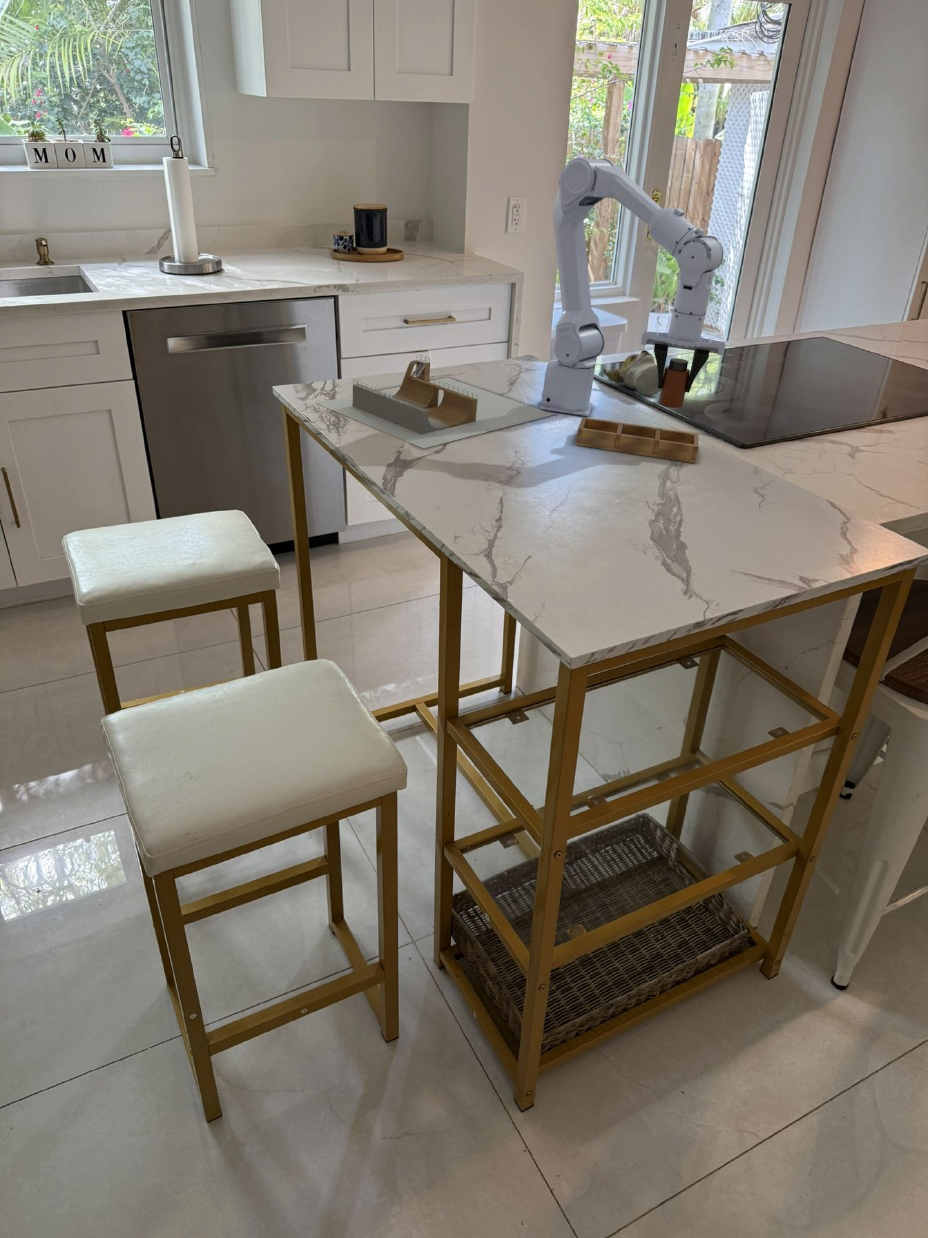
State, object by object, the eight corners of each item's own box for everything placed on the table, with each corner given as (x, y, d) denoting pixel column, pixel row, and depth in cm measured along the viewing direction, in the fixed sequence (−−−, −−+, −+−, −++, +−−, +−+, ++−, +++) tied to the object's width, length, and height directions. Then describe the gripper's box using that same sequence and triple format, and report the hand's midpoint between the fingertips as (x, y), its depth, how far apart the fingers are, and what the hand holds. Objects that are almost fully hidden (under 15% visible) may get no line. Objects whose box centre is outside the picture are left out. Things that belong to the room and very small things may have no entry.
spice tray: (575, 444, 156) (577, 428, 154) (580, 432, 162) (582, 416, 161) (695, 463, 153) (698, 446, 151) (694, 449, 159) (698, 433, 157)
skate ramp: (315, 402, 164) (315, 362, 161) (447, 377, 187) (450, 341, 183) (423, 448, 148) (426, 404, 144) (554, 414, 170) (559, 375, 167)
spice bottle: (657, 405, 160) (666, 361, 156) (658, 399, 164) (667, 355, 160) (682, 409, 160) (691, 364, 156) (682, 402, 163) (691, 359, 159)
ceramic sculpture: (640, 356, 180) (604, 343, 192) (634, 399, 184) (598, 383, 196) (684, 356, 183) (645, 343, 196) (677, 398, 187) (639, 382, 200)
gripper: (646, 310, 151) (632, 388, 158) (732, 321, 149) (714, 400, 156) (648, 303, 157) (634, 379, 164) (730, 313, 155) (713, 390, 162)
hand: (673, 389), depth 160 cm, fingers closed on spice bottle, 4 cm apart
